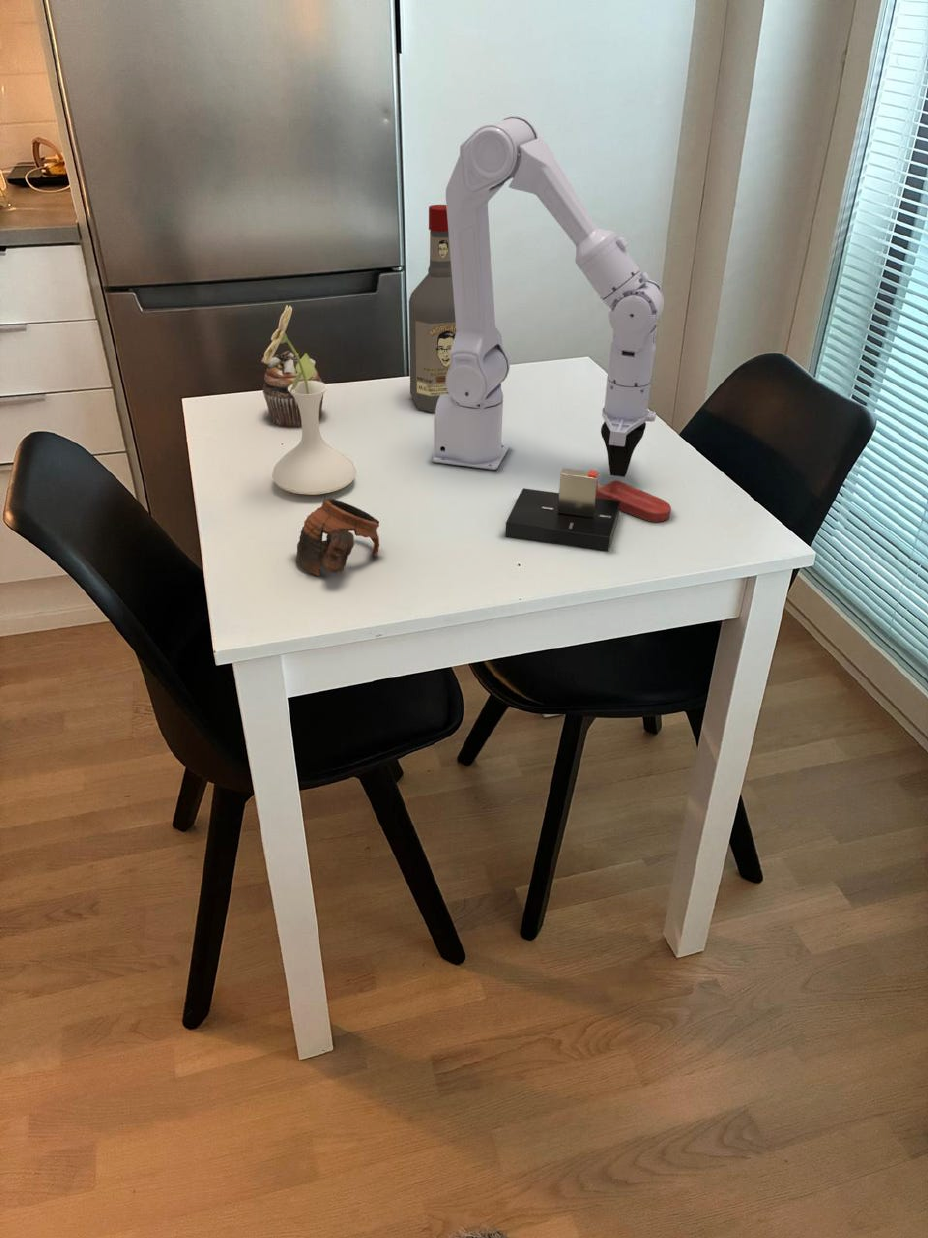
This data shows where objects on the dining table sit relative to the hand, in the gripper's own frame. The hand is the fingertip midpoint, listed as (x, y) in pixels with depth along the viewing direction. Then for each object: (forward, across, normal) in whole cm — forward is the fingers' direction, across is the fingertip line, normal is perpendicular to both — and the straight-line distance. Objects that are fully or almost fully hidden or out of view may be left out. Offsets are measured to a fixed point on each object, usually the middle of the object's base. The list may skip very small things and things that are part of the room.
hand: (618, 473), depth 132 cm
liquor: (+1, +21, +32) cm, 38 cm away
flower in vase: (+1, -14, +40) cm, 42 cm away
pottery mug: (+1, -32, +29) cm, 43 cm away
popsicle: (+1, -6, -1) cm, 6 cm away
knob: (-1, -15, +3) cm, 15 cm away
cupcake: (+2, +8, +52) cm, 53 cm away
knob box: (+1, -15, +5) cm, 16 cm away
